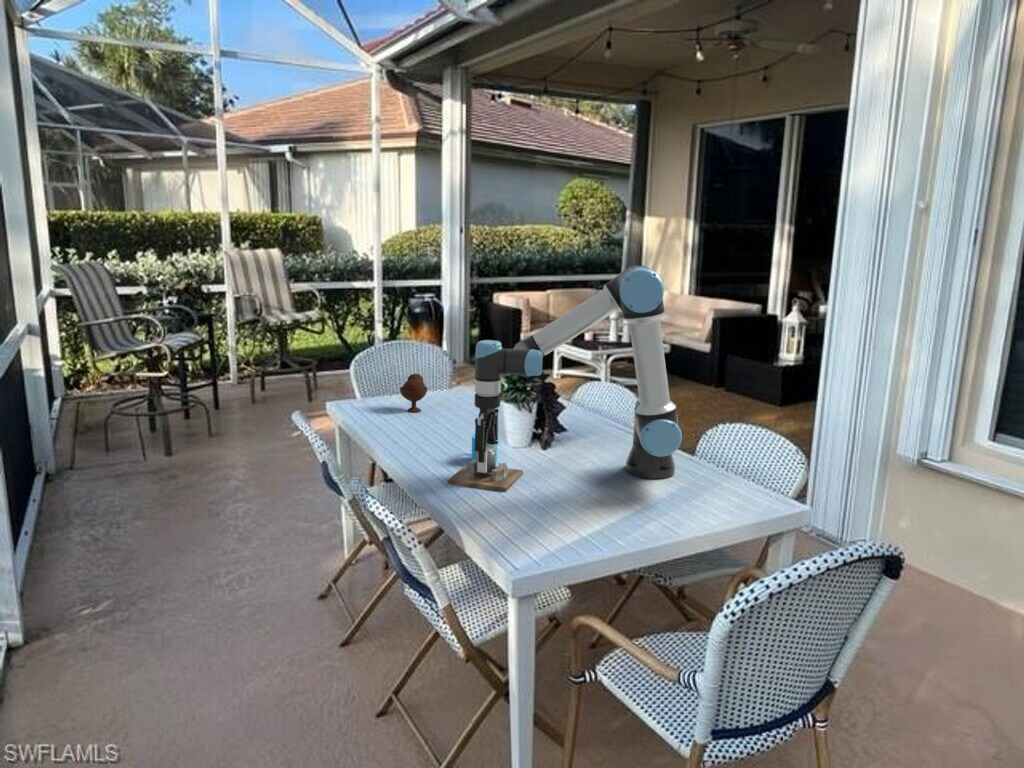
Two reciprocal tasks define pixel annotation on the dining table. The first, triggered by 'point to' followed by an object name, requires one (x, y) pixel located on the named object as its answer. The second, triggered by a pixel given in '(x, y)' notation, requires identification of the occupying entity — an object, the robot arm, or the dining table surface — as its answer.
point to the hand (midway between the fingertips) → (486, 468)
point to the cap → (489, 459)
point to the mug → (475, 451)
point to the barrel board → (486, 477)
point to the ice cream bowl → (414, 391)
